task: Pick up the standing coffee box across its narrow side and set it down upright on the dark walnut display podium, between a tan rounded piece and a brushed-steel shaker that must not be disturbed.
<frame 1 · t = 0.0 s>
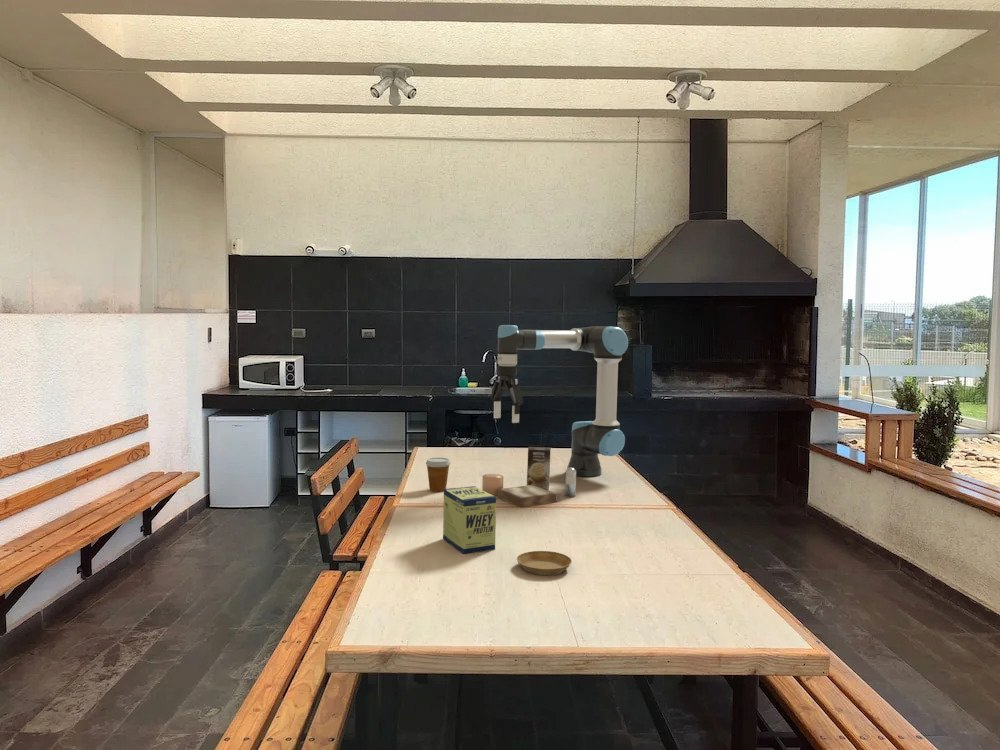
hand: (506, 420, 269), 28 cm above the table, fingers open, 13 cm apart
plant saucer: (543, 569, 187), on the table
tan rounded piece: (492, 494, 267), on the table
protein box: (468, 544, 206), on the table
podium: (526, 499, 260), on the table
disposable coffee cup: (437, 490, 272), on the table
steel shaker: (570, 495, 266), on the table
coffee box: (538, 488, 278), on the table
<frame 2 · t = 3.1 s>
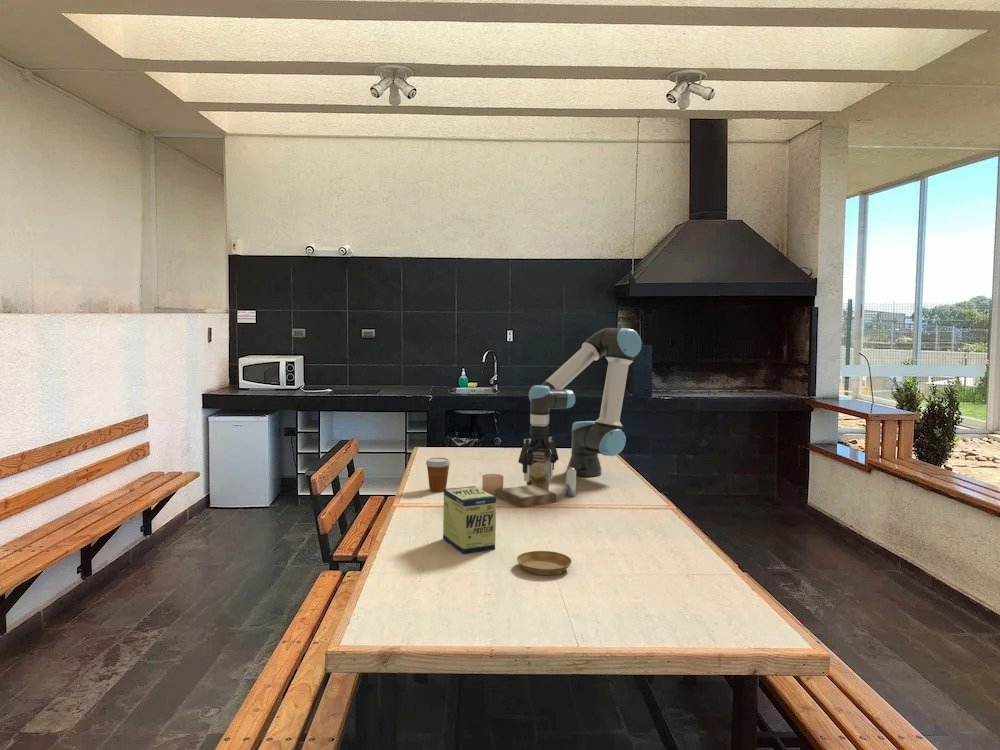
hand: (538, 479, 278), 3 cm above the table, fingers closed on coffee box, 10 cm apart
coffee box: (537, 488, 278), on the table, touching gripper
everything else where it was.
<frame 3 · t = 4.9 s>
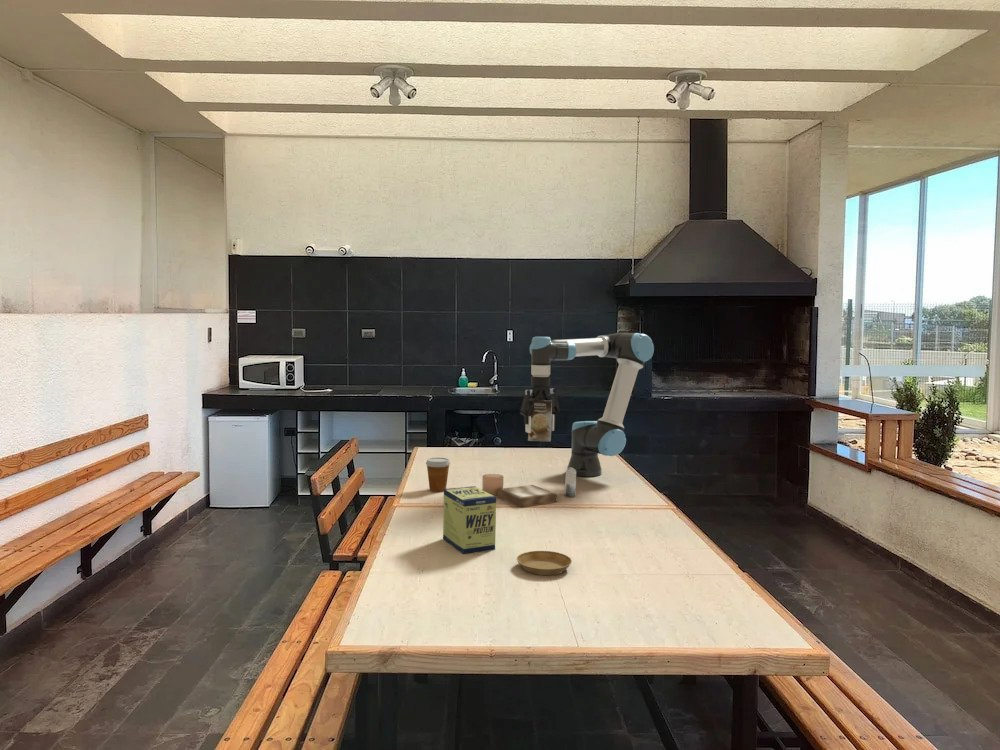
hand: (539, 431, 276), 23 cm above the table, fingers closed on coffee box, 10 cm apart
coffee box: (539, 440, 277), point 19 cm above the table, touching gripper
everything else where it was.
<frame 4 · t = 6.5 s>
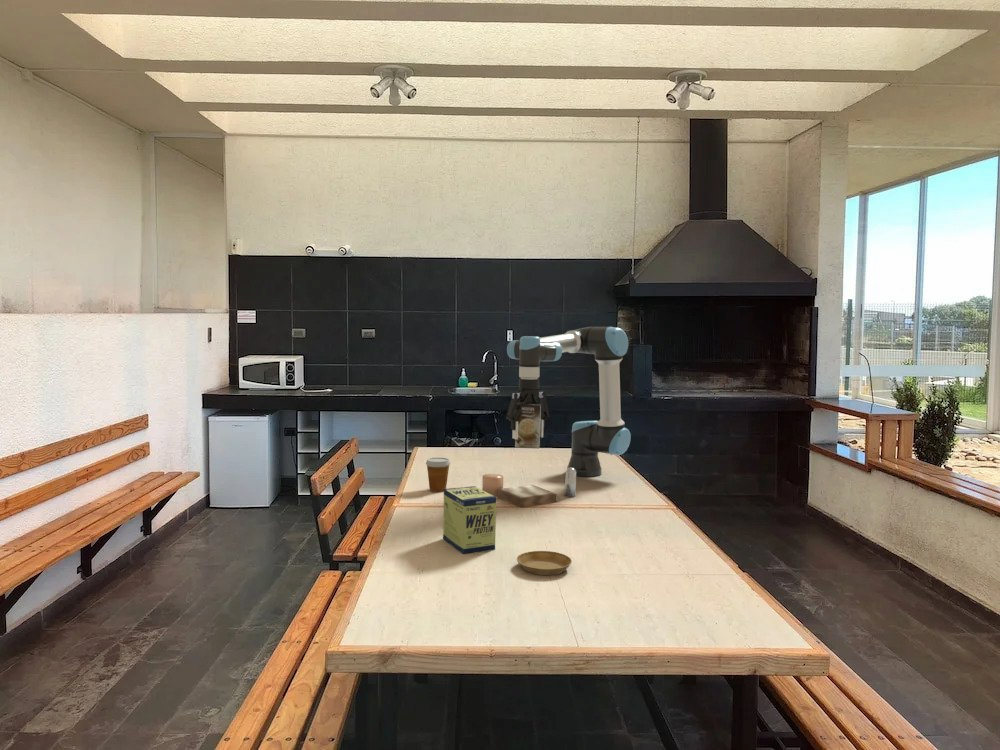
hand: (527, 437, 258), 23 cm above the table, fingers closed on coffee box, 10 cm apart
coffee box: (527, 447, 258), point 20 cm above the table, touching gripper
everything else where it was.
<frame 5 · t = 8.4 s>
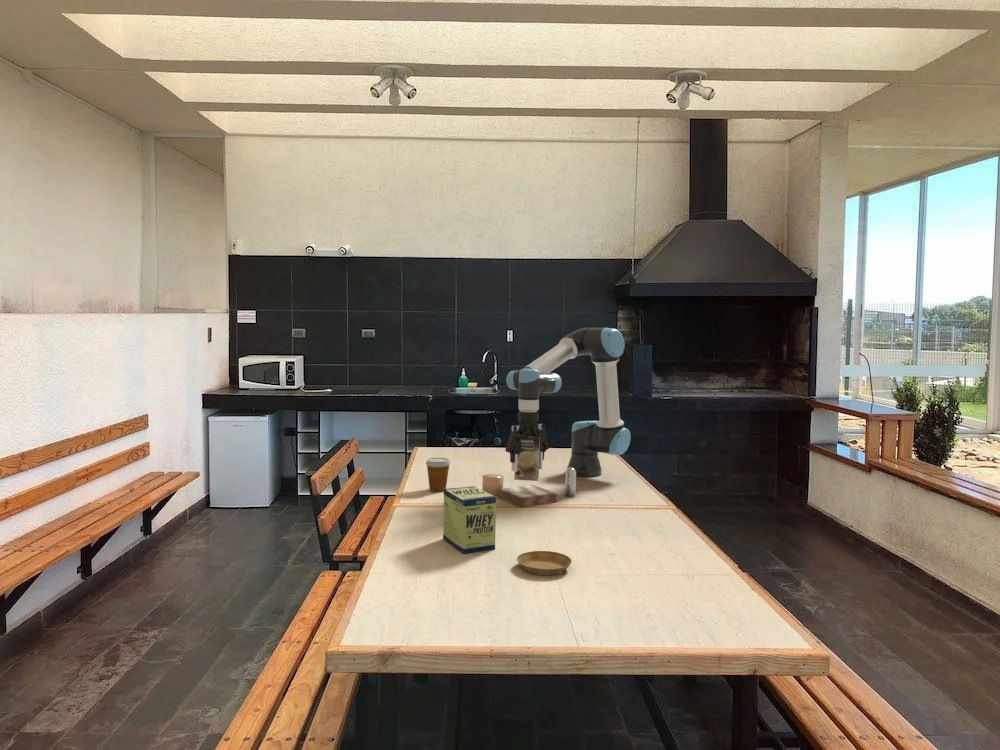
hand: (527, 469, 259), 11 cm above the table, fingers closed on coffee box, 10 cm apart
coffee box: (526, 479, 259), point 8 cm above the table, touching gripper
everything else where it was.
when the fingers open (8 cm above the table, at t = 9.8 s): coffee box drops 1 cm, resting on podium.
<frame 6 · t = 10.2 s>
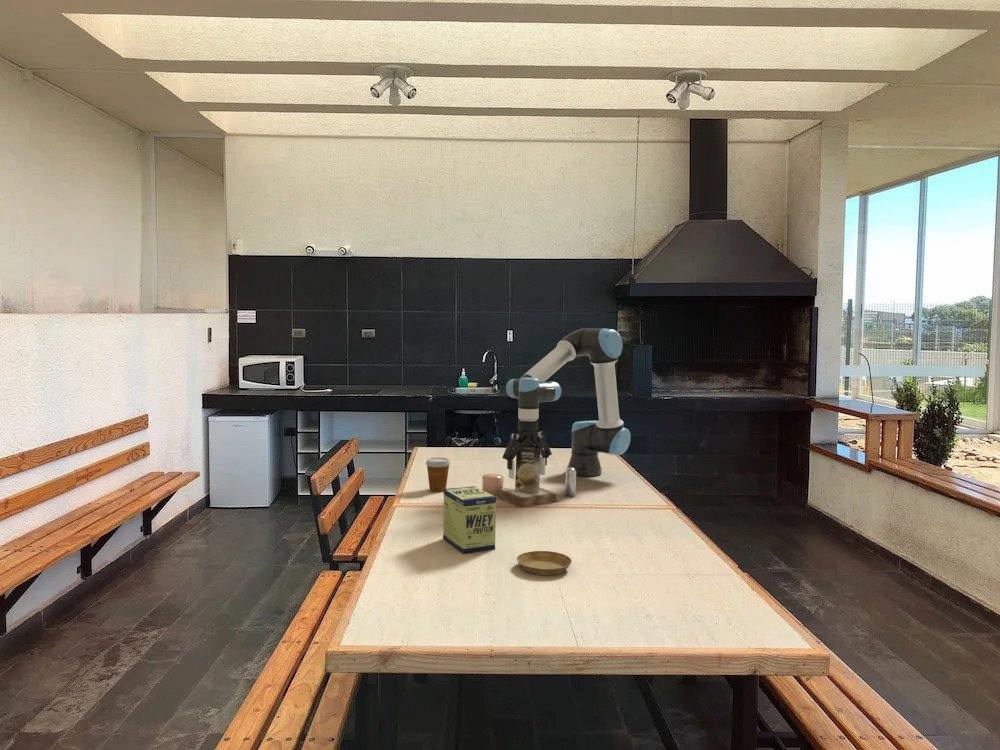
hand: (527, 476, 259), 9 cm above the table, fingers open, 13 cm apart
coffee box: (527, 491, 260), point 3 cm above the table, touching podium
everything else where it was.
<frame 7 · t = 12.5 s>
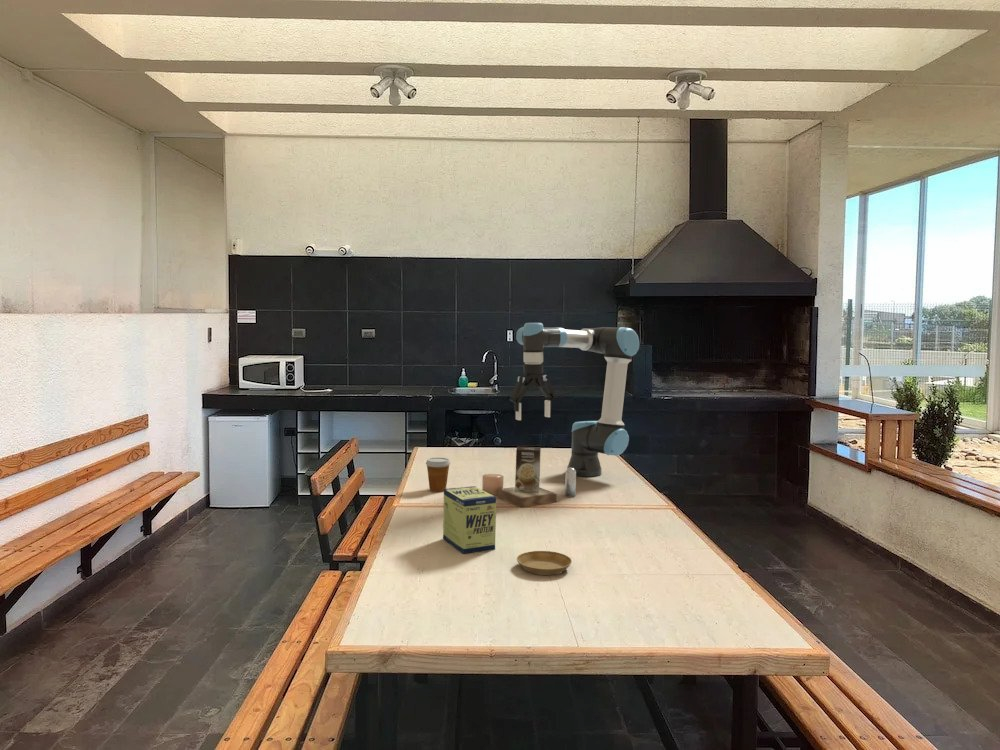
hand: (533, 418, 268), 29 cm above the table, fingers open, 13 cm apart
nothing on the table moved.
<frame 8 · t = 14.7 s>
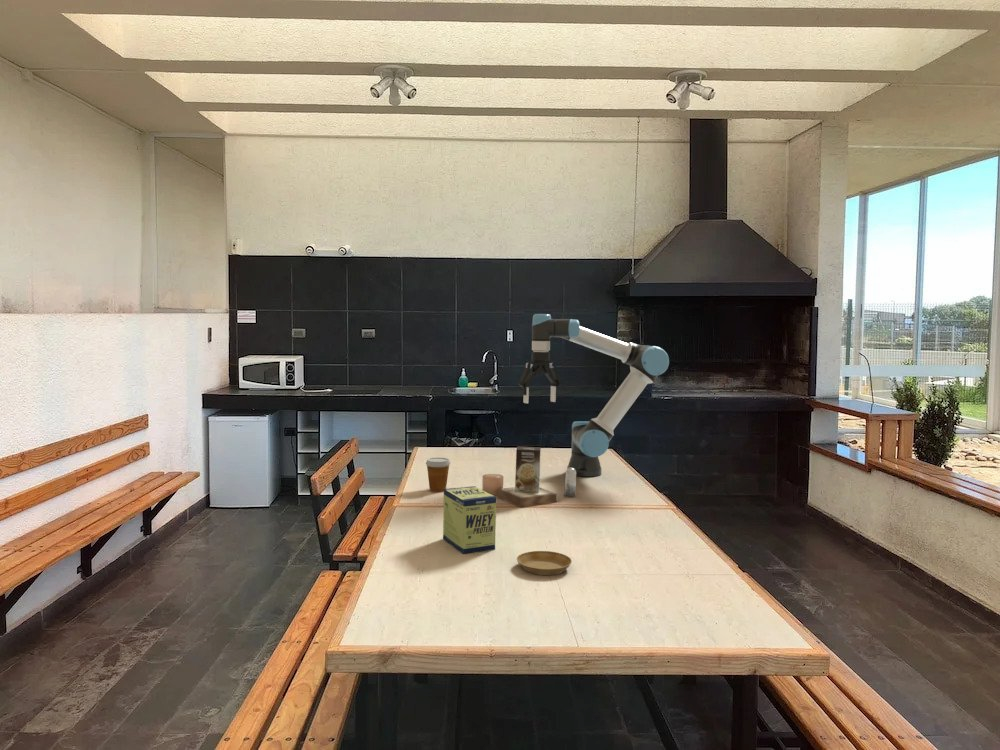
hand: (539, 402, 290), 33 cm above the table, fingers open, 13 cm apart
nothing on the table moved.
at the end: coffee box inside the target area on the podium (0.3 cm from its centre), point 3.0 cm above the podium's base; coffee box tilted 0°; the gripper is holding nothing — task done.
